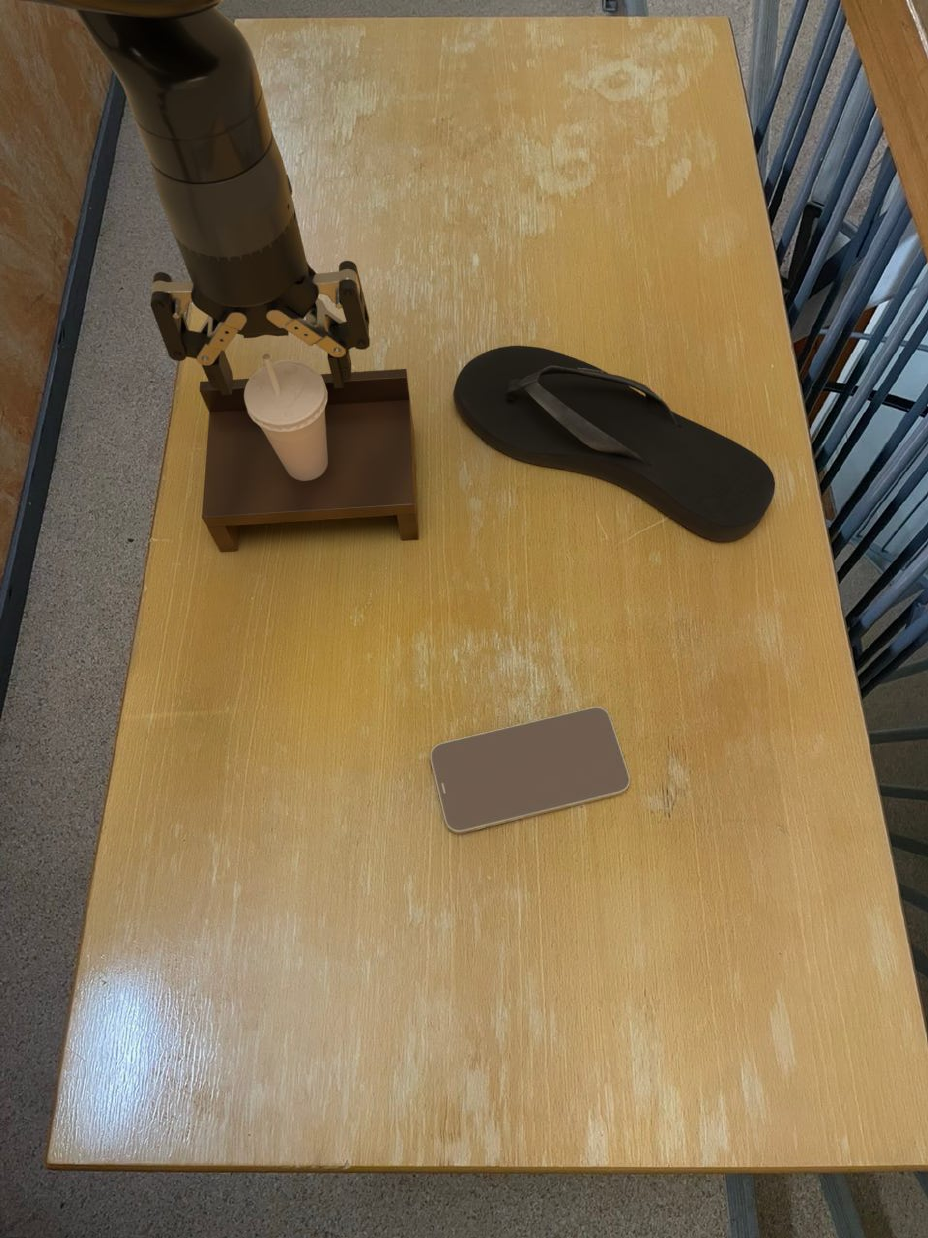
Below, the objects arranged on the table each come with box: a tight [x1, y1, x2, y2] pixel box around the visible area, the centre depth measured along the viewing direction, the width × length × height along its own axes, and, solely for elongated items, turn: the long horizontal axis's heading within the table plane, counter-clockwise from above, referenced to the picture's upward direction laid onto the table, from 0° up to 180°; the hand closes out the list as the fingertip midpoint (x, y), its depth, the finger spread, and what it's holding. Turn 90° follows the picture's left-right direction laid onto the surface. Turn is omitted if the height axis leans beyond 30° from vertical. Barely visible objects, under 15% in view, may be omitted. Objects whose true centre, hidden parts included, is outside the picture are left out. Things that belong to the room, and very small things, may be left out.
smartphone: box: [429, 706, 631, 835], centre depth 73 cm, size 7×1×15 cm
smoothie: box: [244, 353, 328, 481], centre depth 73 cm, size 6×6×14 cm
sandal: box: [452, 345, 776, 542], centre depth 84 cm, size 13×31×7 cm, turn 65°
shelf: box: [199, 368, 420, 553], centre depth 81 cm, size 18×12×9 cm, turn 93°
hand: (284, 382), depth 70 cm, fingers open, 8 cm apart
